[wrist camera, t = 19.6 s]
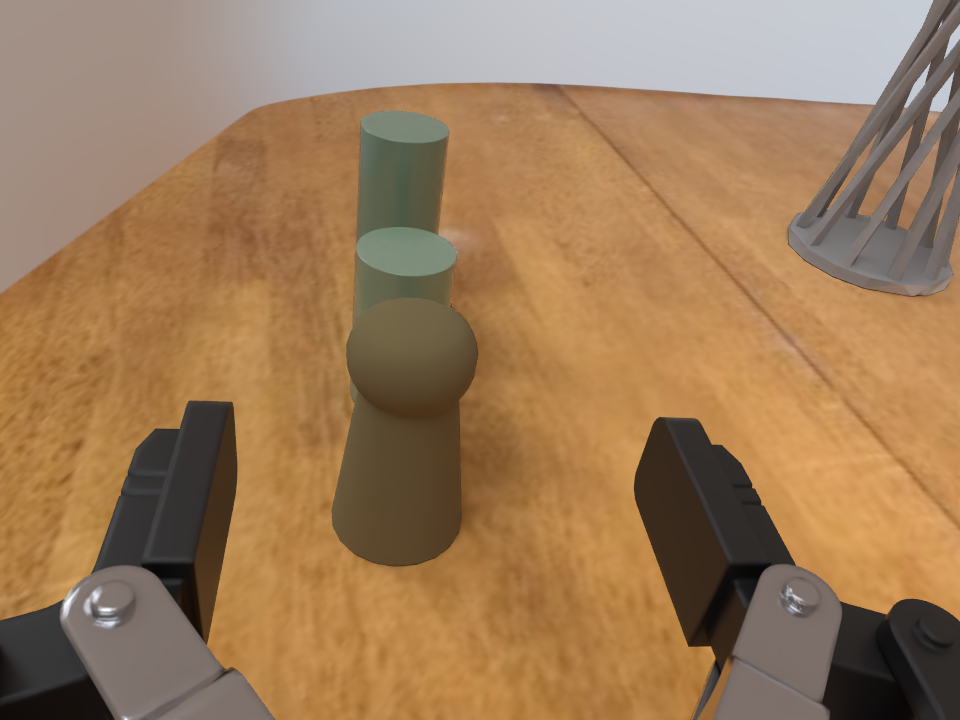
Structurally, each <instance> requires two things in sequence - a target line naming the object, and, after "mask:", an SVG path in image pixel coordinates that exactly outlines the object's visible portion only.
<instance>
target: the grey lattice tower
mask: <svg viewBox="0 0 960 720" xmlns="http://www.w3.org/2000/svg"><path fill="white" fill-rule="evenodd" d="M942 20H943V21H942ZM941 22H942V25H941V26H940V28H939V25H940V23H941ZM959 24H960V0H934V1H933V3H932V5H931V8H930V10H929V12H928V15H927V17H926V20H925V22H924V24H923V27H922V29H921V30H920V32H919V33H918V35H917V37H916V38H915V40H914V42H913V43H912V45H911V46H910V48H909V50H908V52H907V53H906V55H905V56H904V58H903V60H902V61H901V63H900V65H899V66H898V68H897V70H896V72H895V73H894V75H893V77H892V78H891V80H890V81H889V83H888V85H887V86H886V88H885V90H884V91H883V93H882V95H881V96H880V98H879V100H878V101H877V103H876V105H875V106H874V108H873V110H872V111H871V113H870V115H869V116H868V118H867V120H866V121H865V123H864V125H863V126H862V128H861V130H860V131H859V133H858V134H857V136H856V138H855V139H854V141H853V143H852V144H851V146H850V148H849V149H848V151H847V153H846V154H845V156H844V158H843V159H842V161H841V163H840V164H839V165H838V167H837V168H836V169H835V171H834V172H833V173H832V175H831V176H830V178H829V179H828V180H827V182H826V183H825V184H824V186H823V187H822V188H821V190H820V191H819V192H818V194H817V195H816V197H815V198H814V199H813V201H812V202H811V203H810V205H809V206H808V207H807V209H806V210H805V212H802V213H797V215H796V216H795V218H794V219H793V221H792V222H791V224H790V225H789V227H788V242H789V245H790V246H791V247H792V248H793V249H794V250H795V251H796V252H797V253H798V254H799V255H800V256H801V257H802V258H803V259H804V260H805V261H807V262H809V263H810V264H812V265H814V266H816V267H817V268H819V269H821V270H823V271H824V272H826V273H828V274H830V275H831V276H833V277H836V278H839V279H841V280H844V281H847V282H849V283H852V284H855V285H857V286H860V287H863V288H867V289H873V290H878V291H884V292H890V293H895V294H901V295H907V296H915V295H923V296H928V295H930V294H933V293H936V292H939V291H942V290H944V289H945V288H946V286H947V284H948V283H949V282H950V280H951V278H952V276H953V275H954V274H953V271H952V269H951V266H950V264H949V258H950V253H951V249H952V245H953V241H954V237H955V232H956V228H957V224H958V220H959V216H960V129H959V131H958V133H957V130H958V126H959V121H960V40H959V41H958V42H957V44H956V45H955V46H954V48H953V49H952V50H951V51H950V53H949V54H948V56H947V57H946V58H945V59H944V56H945V53H946V49H947V45H948V42H949V38H950V36H951V34H952V33H953V32H954V31H955V29H956V28H957V27H958V25H959ZM938 28H939V29H938ZM937 30H938V31H937ZM930 62H931V64H930ZM929 64H930V68H929V71H928V75H927V79H926V83H925V85H924V87H923V88H922V89H921V90H920V92H919V93H918V95H917V96H916V97H915V98H914V100H913V101H912V102H911V104H910V105H909V106H908V107H907V109H906V110H905V111H904V113H903V114H902V115H901V112H902V110H903V108H904V105H905V103H906V101H907V99H908V96H909V94H910V92H911V89H912V87H913V85H914V83H915V82H916V81H917V79H918V78H919V77H920V76H921V74H922V73H923V72H924V70H925V69H926V68H927V66H928V65H929ZM954 71H955V72H954ZM953 72H954V77H953V82H952V86H951V92H950V96H949V101H948V104H947V106H946V107H945V109H944V110H943V112H942V113H941V114H940V116H939V117H938V119H937V120H936V122H935V123H934V125H933V126H932V128H931V129H930V131H929V132H928V134H927V135H926V137H925V138H924V140H923V141H922V143H921V144H920V141H921V138H922V134H923V131H924V127H925V124H926V120H927V117H928V113H929V109H930V106H931V102H932V99H933V97H934V96H935V95H936V94H937V92H938V91H939V90H940V89H941V87H942V86H943V85H944V83H945V82H946V81H947V80H948V78H949V77H950V76H951V74H952V73H953ZM900 115H901V117H900ZM899 117H900V118H899ZM913 123H914V125H913ZM912 125H913V128H912V132H911V135H910V139H909V143H908V146H907V150H906V153H905V157H904V160H903V164H902V168H901V171H900V175H899V177H898V178H897V180H896V181H895V183H894V184H893V186H892V187H891V189H890V190H889V192H888V193H887V195H886V196H885V198H884V199H883V200H882V202H881V203H880V205H879V206H878V208H877V209H876V211H875V212H874V214H873V215H872V217H870V216H865V215H860V214H857V213H858V211H859V208H860V206H861V204H862V201H863V199H864V197H865V195H866V192H867V190H868V188H869V185H870V183H871V181H872V179H873V176H874V174H875V172H876V171H877V169H878V168H879V167H880V166H881V164H882V163H883V162H884V160H885V159H886V158H887V157H888V155H889V154H890V153H891V151H892V150H893V149H894V148H895V146H896V145H897V144H898V142H899V141H900V140H901V139H902V137H903V136H904V135H905V133H906V132H907V131H908V130H909V128H910V127H911V126H912ZM878 131H879V132H878ZM877 132H878V134H877ZM876 134H877V136H876V139H875V141H874V144H873V146H872V148H871V151H870V153H869V156H868V158H867V160H866V162H865V163H864V165H863V166H862V167H861V169H860V170H859V171H858V173H857V174H856V175H855V177H854V178H853V179H852V180H851V182H850V183H849V184H848V186H847V187H846V188H845V190H844V191H843V192H842V193H841V195H840V196H839V197H838V199H837V200H836V201H835V203H834V204H833V205H832V206H831V208H830V209H829V210H826V209H827V208H828V206H829V204H830V203H831V201H832V199H833V198H834V196H835V195H836V193H837V191H838V190H839V188H840V186H841V185H842V183H843V181H844V180H845V178H846V177H847V175H848V173H849V172H850V170H851V168H852V167H853V165H854V164H855V162H856V160H857V159H858V157H859V156H860V155H861V153H862V152H863V151H864V149H865V148H866V147H867V145H868V144H869V143H870V142H871V140H872V139H873V138H874V136H875V135H876ZM941 134H942V135H941ZM940 135H941V139H940V144H939V149H938V154H937V159H936V164H935V168H934V173H933V178H932V183H931V186H930V188H929V190H928V192H927V194H926V196H925V198H924V200H923V202H922V204H921V206H920V208H919V210H918V212H917V214H916V216H915V218H914V220H913V222H912V224H911V226H910V228H909V230H908V231H907V230H905V229H903V228H901V227H899V226H897V223H898V219H899V216H900V212H901V209H902V205H903V201H904V198H905V194H906V191H907V187H908V184H909V181H910V179H911V178H912V176H913V175H914V173H915V172H916V170H917V169H918V168H919V166H920V165H921V163H922V162H923V160H924V159H925V157H926V156H927V154H928V153H929V151H930V150H931V148H932V147H933V145H934V144H935V142H936V141H937V139H938V138H939V137H940ZM919 145H920V146H919ZM957 167H958V169H957ZM956 169H957V173H956V178H955V182H954V186H953V189H952V192H951V195H950V198H949V201H948V204H947V207H946V210H945V213H944V216H943V219H942V222H941V224H940V227H939V230H938V233H937V236H936V239H935V242H934V237H935V232H936V228H937V223H938V218H939V214H940V209H941V205H942V200H943V195H944V193H945V191H946V189H947V187H948V185H949V183H950V181H951V179H952V177H953V175H954V173H955V171H956ZM888 212H889V214H888V217H887V221H886V222H884V221H883V219H884V218H885V216H886V215H887V213H888ZM933 242H934V245H933Z"/></svg>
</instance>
